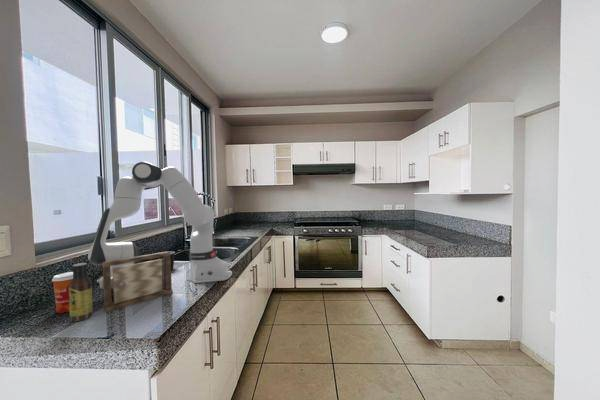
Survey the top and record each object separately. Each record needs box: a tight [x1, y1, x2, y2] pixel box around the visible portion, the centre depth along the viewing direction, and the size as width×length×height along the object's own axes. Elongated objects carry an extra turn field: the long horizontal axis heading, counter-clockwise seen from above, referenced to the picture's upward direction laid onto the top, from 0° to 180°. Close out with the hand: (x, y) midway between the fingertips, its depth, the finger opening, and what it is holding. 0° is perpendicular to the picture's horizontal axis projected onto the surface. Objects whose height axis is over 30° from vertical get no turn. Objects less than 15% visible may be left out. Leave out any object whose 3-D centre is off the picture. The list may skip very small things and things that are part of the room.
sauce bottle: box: [69, 262, 93, 322], centre depth 89 cm, size 6×6×20 cm
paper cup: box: [51, 271, 73, 314], centre depth 96 cm, size 8×8×14 cm
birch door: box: [112, 258, 165, 303], centre depth 104 cm, size 19×3×14 cm, turn 137°
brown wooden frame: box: [102, 250, 174, 313], centre depth 104 cm, size 24×6×18 cm, turn 137°
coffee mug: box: [151, 251, 176, 271], centre depth 147 cm, size 12×9×10 cm
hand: (132, 281), depth 103 cm, fingers closed, pressing on birch door
